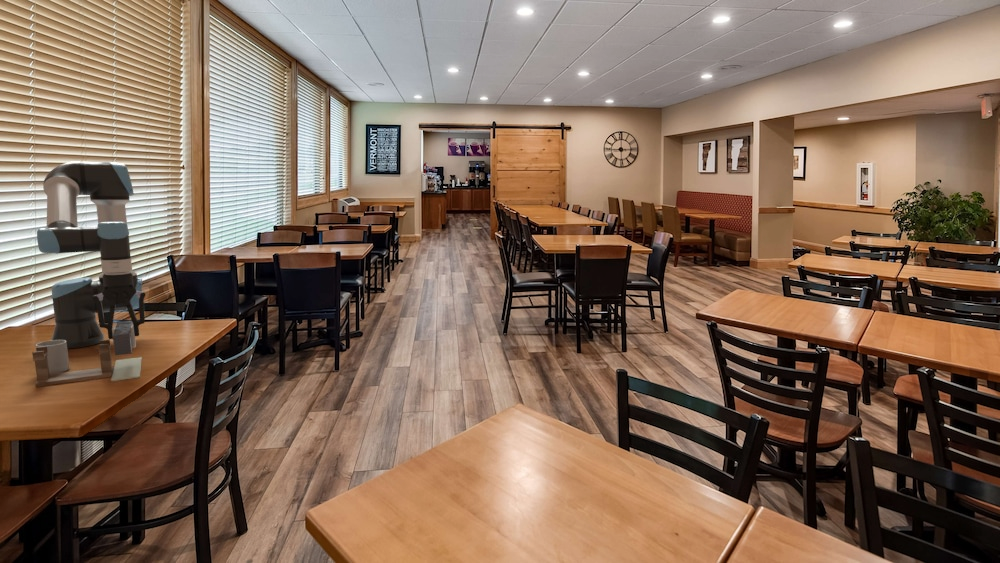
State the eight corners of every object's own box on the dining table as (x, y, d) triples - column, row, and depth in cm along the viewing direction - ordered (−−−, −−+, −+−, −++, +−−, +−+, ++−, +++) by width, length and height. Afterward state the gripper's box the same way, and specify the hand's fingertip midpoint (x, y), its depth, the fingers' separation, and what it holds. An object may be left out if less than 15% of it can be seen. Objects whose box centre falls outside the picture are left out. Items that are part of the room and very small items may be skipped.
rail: (115, 355, 160) (112, 335, 159) (119, 339, 177) (117, 321, 176) (131, 353, 162) (129, 333, 161) (134, 338, 179) (132, 320, 178)
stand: (40, 378, 161) (36, 346, 160) (113, 369, 170) (110, 338, 169) (35, 386, 155) (31, 353, 153) (111, 376, 164) (108, 344, 162)
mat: (116, 361, 178) (116, 360, 178) (141, 358, 182) (141, 357, 182) (111, 381, 160) (110, 380, 160) (139, 377, 163) (139, 376, 163)
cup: (44, 376, 163) (40, 347, 162) (32, 370, 169) (28, 342, 167) (73, 370, 169) (70, 342, 168) (61, 364, 175) (57, 337, 173)
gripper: (80, 276, 158) (89, 354, 162) (150, 272, 167) (157, 346, 171) (83, 273, 165) (92, 348, 168) (151, 269, 173) (157, 341, 177)
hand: (125, 347), depth 169 cm, fingers closed on rail, 4 cm apart
